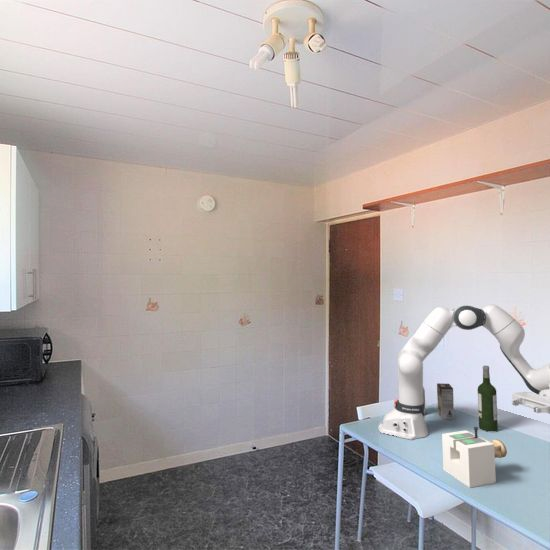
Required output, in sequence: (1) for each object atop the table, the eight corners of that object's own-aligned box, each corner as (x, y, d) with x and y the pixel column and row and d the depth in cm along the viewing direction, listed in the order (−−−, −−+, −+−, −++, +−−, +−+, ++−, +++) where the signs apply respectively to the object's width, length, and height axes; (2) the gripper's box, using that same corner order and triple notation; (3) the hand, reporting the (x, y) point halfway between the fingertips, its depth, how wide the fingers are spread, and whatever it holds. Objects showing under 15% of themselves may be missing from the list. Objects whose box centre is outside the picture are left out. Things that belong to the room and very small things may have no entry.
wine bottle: (478, 424, 181) (475, 363, 182) (496, 427, 178) (494, 365, 179) (479, 430, 174) (477, 367, 175) (499, 433, 171) (496, 368, 171)
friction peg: (493, 453, 140) (492, 420, 141) (507, 460, 135) (505, 426, 135) (466, 457, 137) (465, 424, 138) (479, 465, 131) (477, 430, 132)
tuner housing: (467, 465, 141) (466, 429, 142) (495, 482, 129) (494, 443, 129) (443, 469, 138) (442, 433, 139) (469, 487, 126) (468, 447, 126)
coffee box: (437, 412, 199) (436, 383, 200) (450, 413, 198) (448, 383, 199) (441, 418, 190) (440, 387, 191) (454, 419, 189) (453, 388, 190)
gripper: (527, 386, 155) (500, 391, 151) (577, 399, 135) (548, 405, 132) (528, 401, 155) (502, 407, 151) (579, 416, 135) (550, 423, 131)
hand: (524, 406), depth 141 cm, fingers open, 8 cm apart
